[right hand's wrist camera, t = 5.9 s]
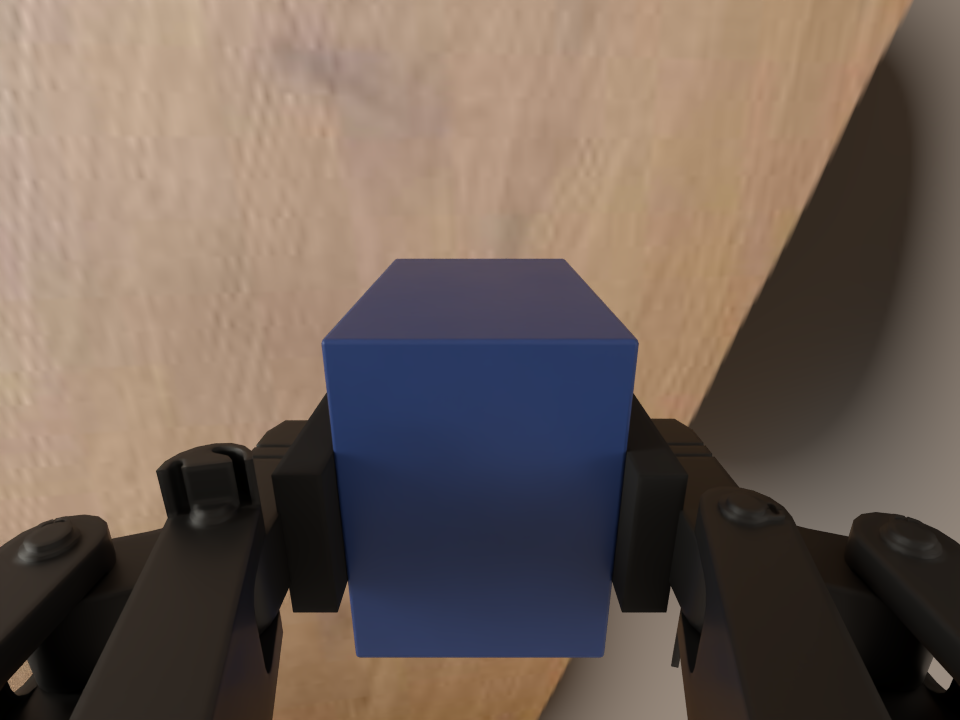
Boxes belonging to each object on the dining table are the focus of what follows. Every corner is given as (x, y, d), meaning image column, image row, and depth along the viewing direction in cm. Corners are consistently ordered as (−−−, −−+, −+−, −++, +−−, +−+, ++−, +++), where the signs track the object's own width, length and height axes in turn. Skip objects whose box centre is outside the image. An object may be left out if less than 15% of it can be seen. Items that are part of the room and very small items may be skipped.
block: (565, 258, 15) (640, 340, 8) (553, 458, 17) (604, 659, 10) (394, 258, 15) (319, 340, 8) (406, 458, 17) (355, 659, 10)
